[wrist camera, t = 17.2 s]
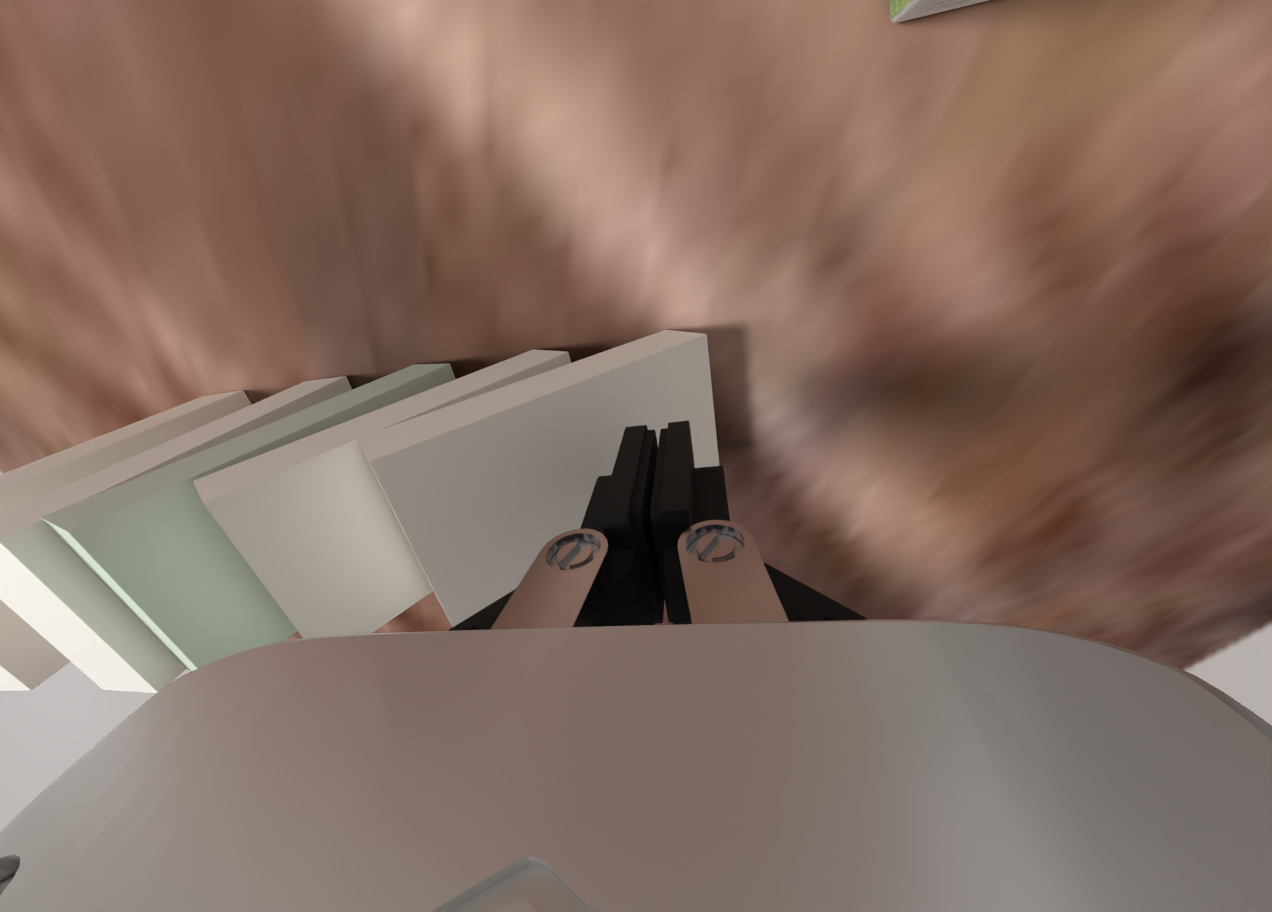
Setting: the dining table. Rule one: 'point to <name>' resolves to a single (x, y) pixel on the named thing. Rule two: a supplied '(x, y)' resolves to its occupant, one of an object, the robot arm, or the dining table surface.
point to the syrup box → (924, 7)
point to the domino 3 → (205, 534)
